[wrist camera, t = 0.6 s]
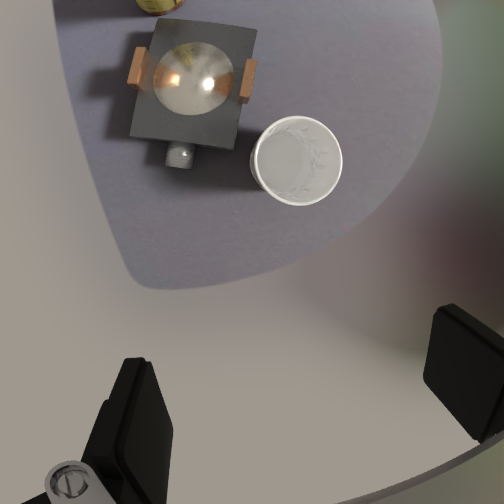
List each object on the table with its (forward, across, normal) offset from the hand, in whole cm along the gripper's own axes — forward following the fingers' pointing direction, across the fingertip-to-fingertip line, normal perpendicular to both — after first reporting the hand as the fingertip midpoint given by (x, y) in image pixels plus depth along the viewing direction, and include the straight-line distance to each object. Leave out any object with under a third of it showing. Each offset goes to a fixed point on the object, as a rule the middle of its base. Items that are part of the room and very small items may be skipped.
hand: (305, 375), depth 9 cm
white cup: (+30, -5, -6) cm, 31 cm away
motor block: (+30, +4, -15) cm, 33 cm away
